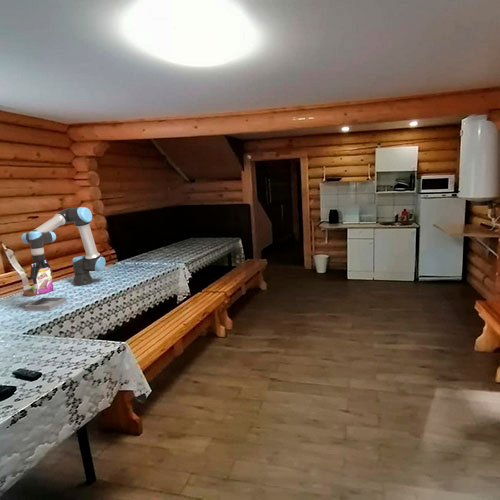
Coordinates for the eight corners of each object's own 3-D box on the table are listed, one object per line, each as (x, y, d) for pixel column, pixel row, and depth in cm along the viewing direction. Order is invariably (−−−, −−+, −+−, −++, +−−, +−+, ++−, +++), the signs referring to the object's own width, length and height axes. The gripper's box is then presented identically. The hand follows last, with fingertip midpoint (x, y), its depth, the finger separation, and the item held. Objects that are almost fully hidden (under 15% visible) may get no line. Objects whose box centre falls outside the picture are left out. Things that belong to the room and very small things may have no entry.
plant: (48, 287, 314) (46, 274, 312) (53, 292, 299) (51, 278, 297) (20, 293, 302) (18, 279, 300) (24, 298, 287) (22, 284, 285)
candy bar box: (36, 295, 255) (32, 271, 252) (34, 293, 258) (30, 270, 256) (54, 291, 263) (50, 267, 260) (51, 290, 266) (48, 267, 263)
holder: (43, 302, 273) (43, 297, 272) (66, 301, 270) (66, 297, 269) (25, 310, 255) (24, 305, 255) (49, 310, 252) (49, 305, 252)
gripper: (45, 251, 268) (49, 281, 272) (20, 258, 245) (25, 291, 249) (54, 250, 267) (59, 281, 271) (30, 257, 244) (36, 290, 248)
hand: (43, 285), depth 260 cm, fingers closed on candy bar box, 11 cm apart
